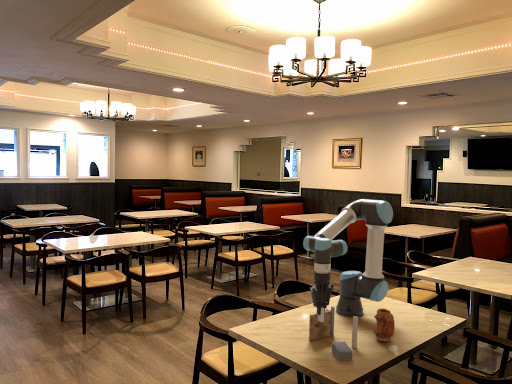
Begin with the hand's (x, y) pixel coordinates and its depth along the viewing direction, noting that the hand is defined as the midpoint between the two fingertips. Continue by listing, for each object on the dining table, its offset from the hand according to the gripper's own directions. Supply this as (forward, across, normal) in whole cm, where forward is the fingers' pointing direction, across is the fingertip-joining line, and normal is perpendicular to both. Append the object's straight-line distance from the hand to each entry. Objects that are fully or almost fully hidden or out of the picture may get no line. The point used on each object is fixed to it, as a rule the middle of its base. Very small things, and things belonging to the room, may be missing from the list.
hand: (320, 320), depth 195 cm
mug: (+10, +26, -16) cm, 32 cm away
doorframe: (+9, +9, -4) cm, 14 cm away
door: (+9, +1, +1) cm, 9 cm away
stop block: (+10, -1, -16) cm, 19 cm away
